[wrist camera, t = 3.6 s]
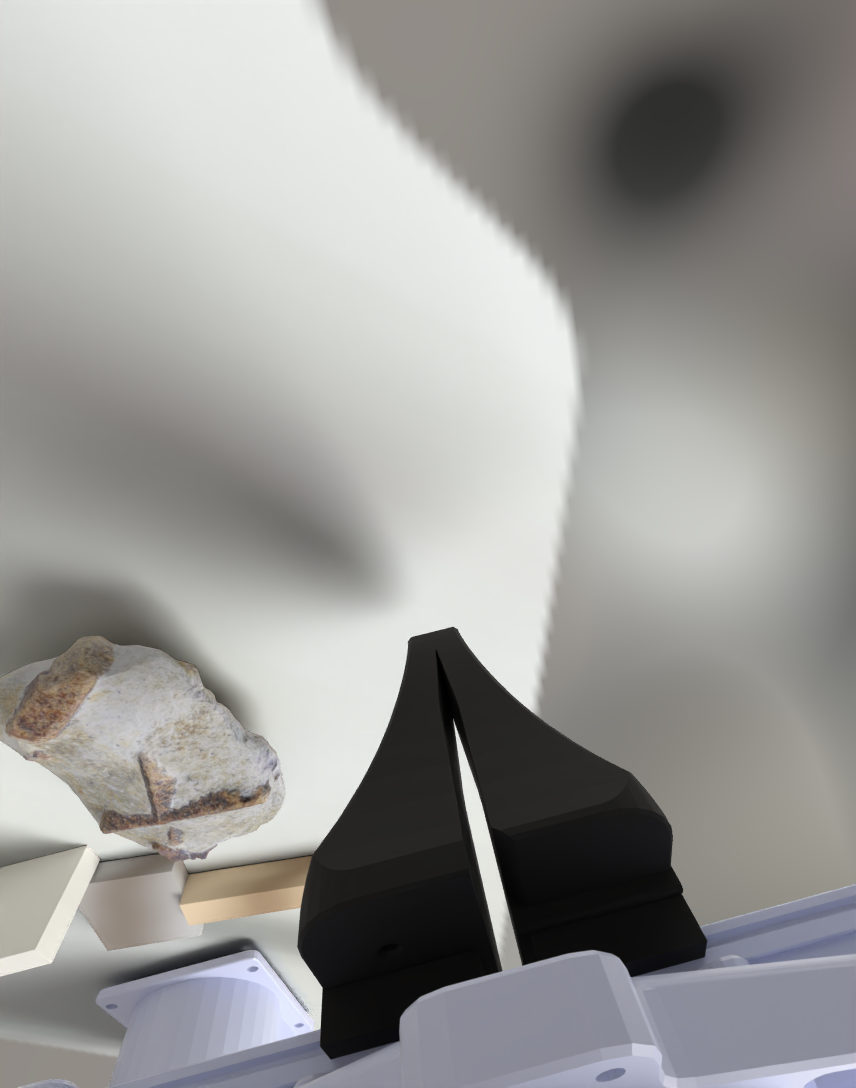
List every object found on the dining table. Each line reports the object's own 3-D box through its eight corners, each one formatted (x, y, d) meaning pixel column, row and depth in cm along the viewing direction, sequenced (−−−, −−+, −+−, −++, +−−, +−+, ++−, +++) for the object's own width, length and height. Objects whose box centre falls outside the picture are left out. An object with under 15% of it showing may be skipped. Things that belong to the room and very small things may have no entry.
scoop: (369, 823, 21) (369, 851, 20) (377, 887, 23) (378, 915, 22) (76, 866, 19) (60, 898, 18) (115, 929, 22) (103, 961, 21)
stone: (328, 769, 18) (322, 839, 16) (167, 828, 19) (139, 903, 17) (166, 588, 14) (125, 651, 11) (-38, 677, 14) (-115, 752, 12)
